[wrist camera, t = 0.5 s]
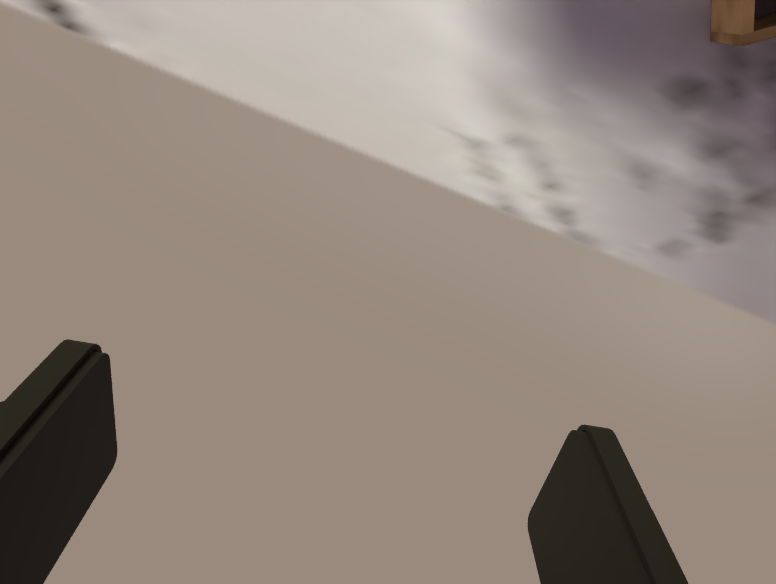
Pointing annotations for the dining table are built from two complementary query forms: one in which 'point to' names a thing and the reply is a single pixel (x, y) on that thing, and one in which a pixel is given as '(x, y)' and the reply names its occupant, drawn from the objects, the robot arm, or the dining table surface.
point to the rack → (739, 23)
